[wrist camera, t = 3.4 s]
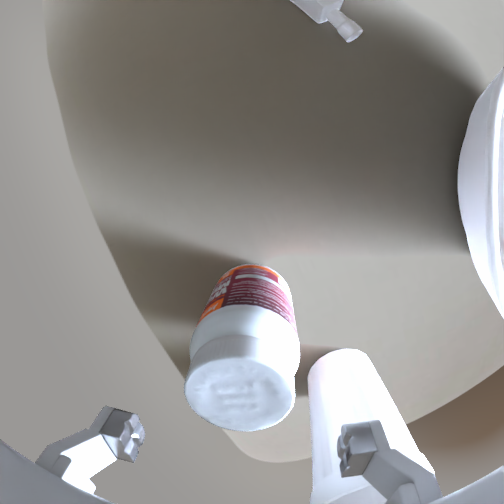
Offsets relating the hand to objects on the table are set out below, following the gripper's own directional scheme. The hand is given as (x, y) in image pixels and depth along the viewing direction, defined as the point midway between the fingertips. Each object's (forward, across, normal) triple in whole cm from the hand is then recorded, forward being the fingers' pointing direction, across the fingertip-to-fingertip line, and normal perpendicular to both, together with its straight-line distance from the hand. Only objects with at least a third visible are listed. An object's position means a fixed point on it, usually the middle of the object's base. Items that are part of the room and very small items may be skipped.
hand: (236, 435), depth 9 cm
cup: (+14, -8, +8) cm, 18 cm away
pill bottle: (+14, 0, 0) cm, 14 cm away
